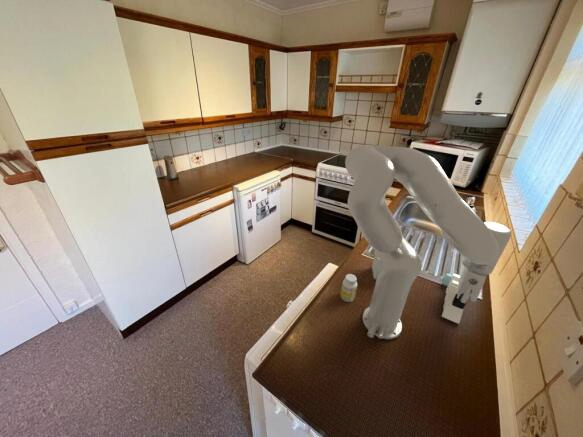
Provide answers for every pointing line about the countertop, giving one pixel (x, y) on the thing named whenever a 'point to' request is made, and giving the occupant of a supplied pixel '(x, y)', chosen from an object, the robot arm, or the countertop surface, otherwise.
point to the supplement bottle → (349, 288)
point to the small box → (377, 266)
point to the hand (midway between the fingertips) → (457, 305)
